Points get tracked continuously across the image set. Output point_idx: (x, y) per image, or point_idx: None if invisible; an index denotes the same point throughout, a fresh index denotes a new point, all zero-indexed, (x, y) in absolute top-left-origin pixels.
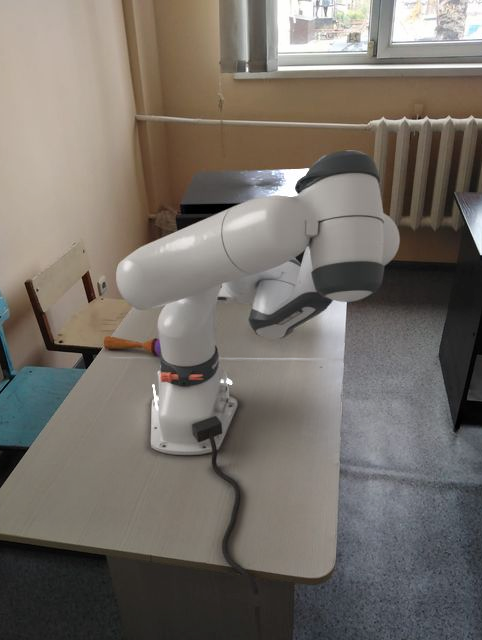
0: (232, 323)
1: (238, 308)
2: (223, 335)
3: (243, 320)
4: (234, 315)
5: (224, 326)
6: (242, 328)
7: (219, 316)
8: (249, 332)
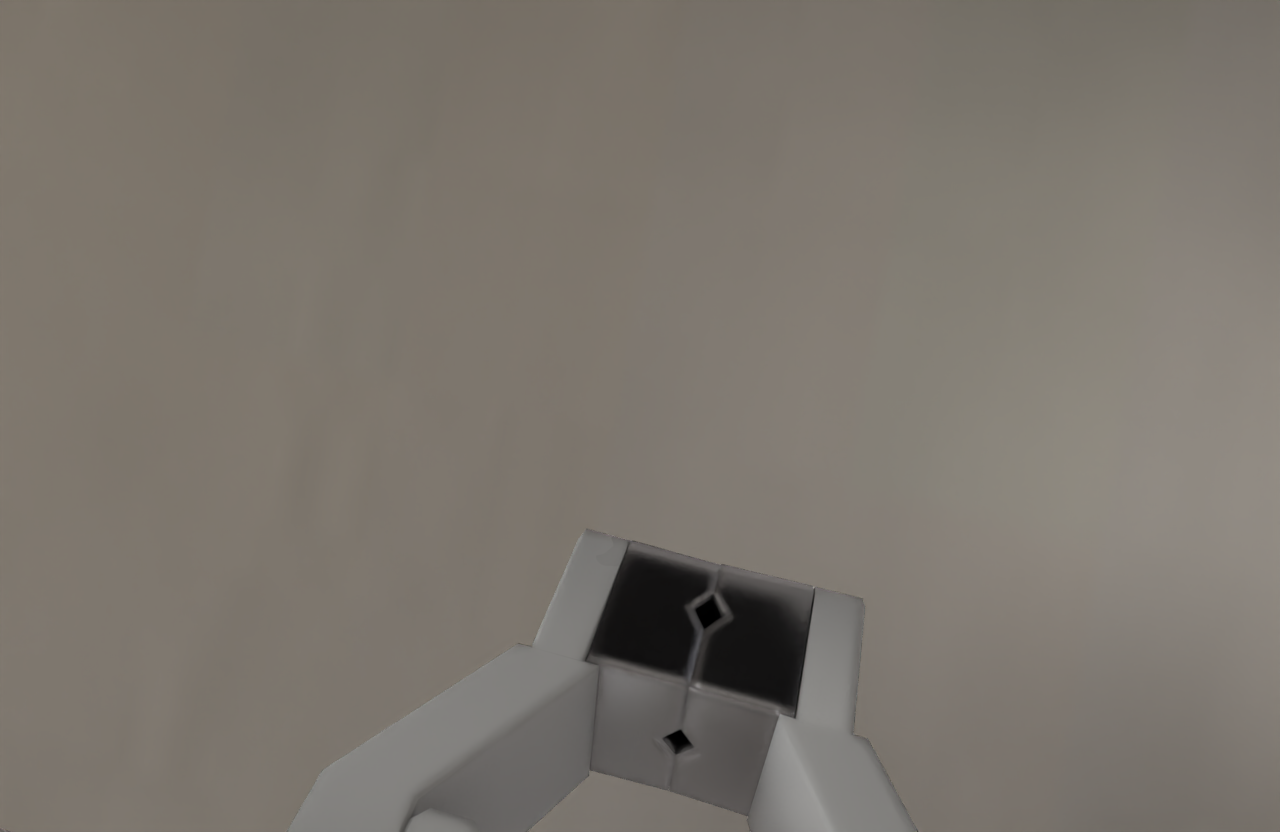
0: (491, 506)
1: (648, 99)
2: None
3: (661, 458)
4: (557, 286)
5: (368, 562)
6: None
7: (350, 271)
8: (688, 829)
